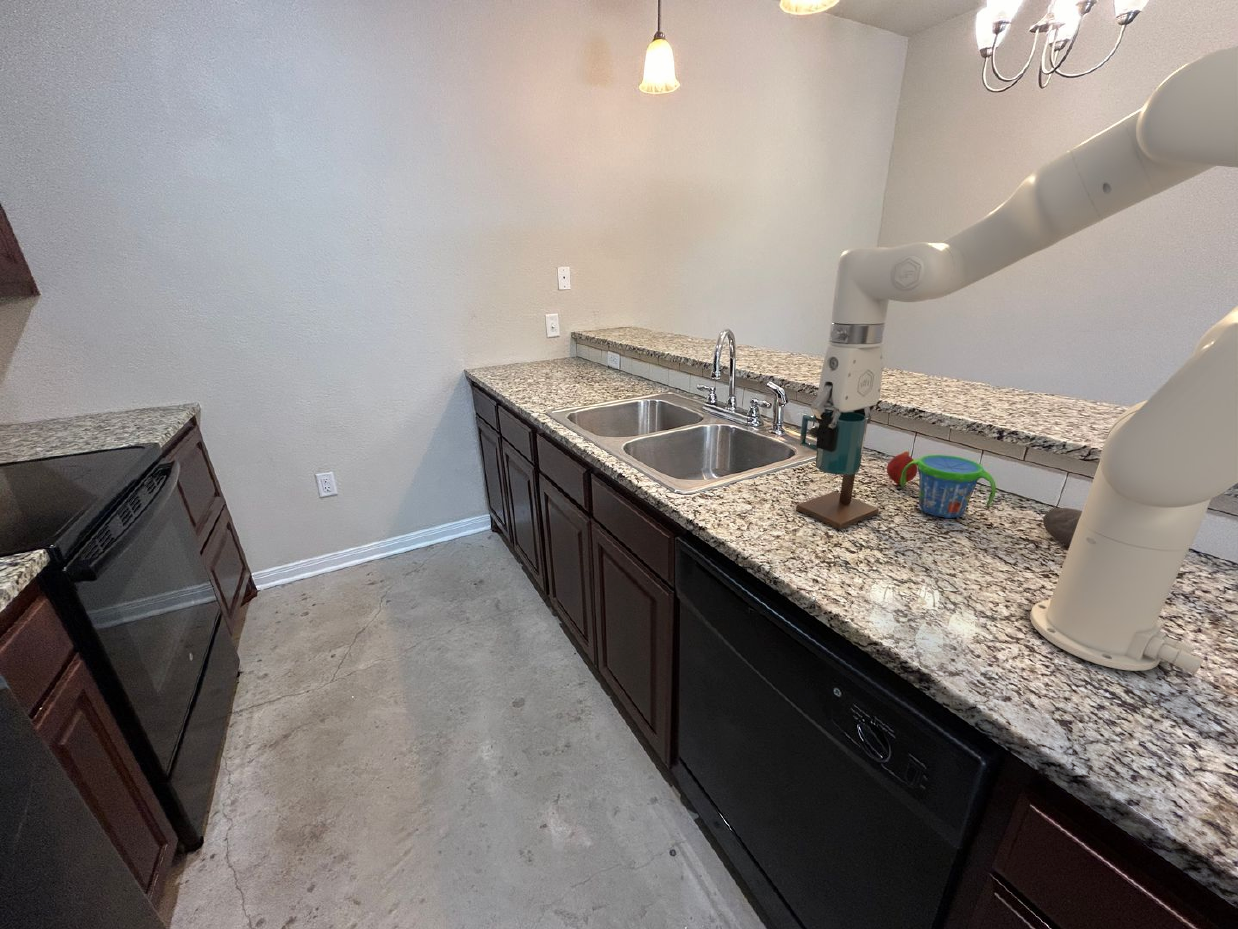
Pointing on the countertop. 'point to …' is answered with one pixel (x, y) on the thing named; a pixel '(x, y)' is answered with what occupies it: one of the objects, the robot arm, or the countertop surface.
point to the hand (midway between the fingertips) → (840, 444)
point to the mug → (840, 444)
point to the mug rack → (838, 503)
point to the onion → (901, 467)
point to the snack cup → (947, 484)
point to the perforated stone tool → (1062, 523)
